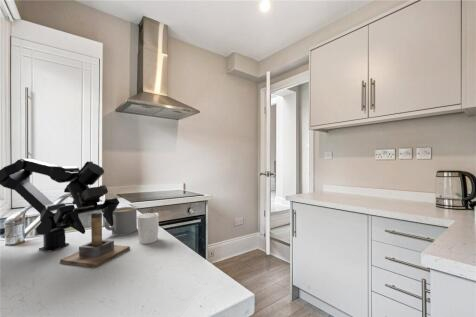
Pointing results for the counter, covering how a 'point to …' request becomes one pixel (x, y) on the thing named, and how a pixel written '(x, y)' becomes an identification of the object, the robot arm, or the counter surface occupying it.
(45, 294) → the counter surface
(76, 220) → the robot arm
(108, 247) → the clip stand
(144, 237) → the white cup
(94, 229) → the wooden peg
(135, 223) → the coffee mug
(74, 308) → the counter surface
